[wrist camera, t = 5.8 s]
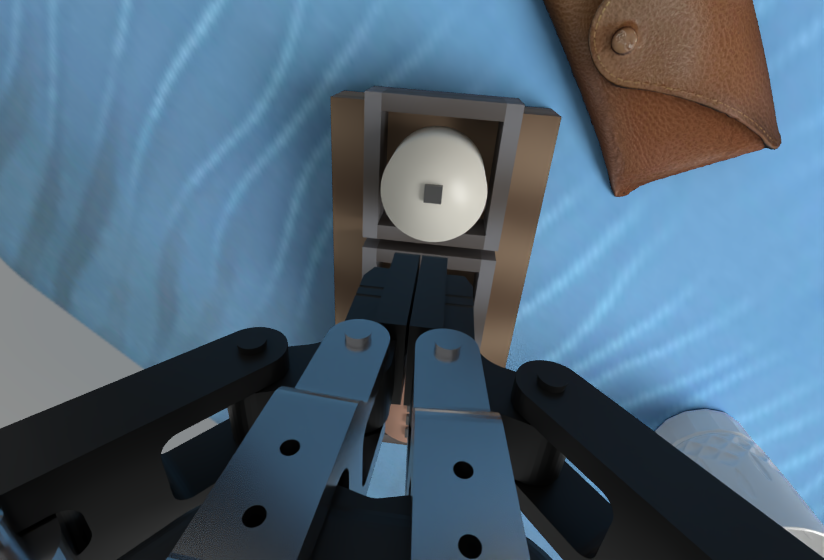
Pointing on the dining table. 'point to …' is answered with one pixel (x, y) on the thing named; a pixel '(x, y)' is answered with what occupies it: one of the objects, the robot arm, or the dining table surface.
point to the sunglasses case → (668, 82)
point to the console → (486, 240)
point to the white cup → (743, 469)
